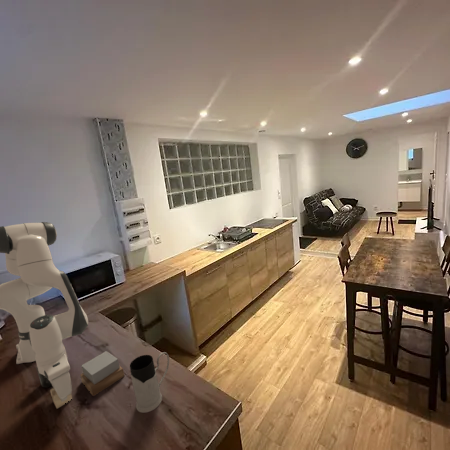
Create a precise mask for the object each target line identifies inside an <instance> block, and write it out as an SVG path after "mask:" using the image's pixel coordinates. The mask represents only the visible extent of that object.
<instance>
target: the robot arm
mask: <svg viewBox="0 0 450 450" xmlns="http://www.w3.org/2000/svg"><path fill="white" fill-rule="evenodd" d="M57 236H58V233H57V229H56V228H55V225H54V224H53V223H51V222H48V221H47V222H46V221H41V222H25V223H17V224H12V225H6V226H4V225H3V226H0V254H4V256H5V268H6V271H7V272H8V273H9V274H11V275H12V276H13V275H14V276H18V277H19V278H15V279H13V280H9V281H7V282H2V283H1V284H0V310H2V311H5V312H7V313H9V314H11V316H12V317H13V318H14V321H15V322H16V325H17V329H18V338H19V343H17V344H16V345H15V347H16V350H17V356H16V365H19V364H23V363H24V364H25V363H32V362H35V363H36V368H37V367H38V371H39V373H40V374H43V375H44V376H46V377H47V379H48V380H49V381H50V382H51V384H52V386H51V387H53V388H54V389H55V391H56V393H57V394H58V396H59V398H60V399H61V401H62V402H63V401H65V400H66V399H67V396H68V395H69V394H71V395H72V392H73V387H72V380H71V375H70V370H71V366H70V363H69V358H68V354H67V350H66V348H65V345H64V343H63V340H65V339H67V338H70V337H75V336H79V335H82V334H83V333H84V332H85V331H86V329H87V328H88V326H89V317H88V315H87V313H86V312H85V311H84V309H83V307H82V305H81V303H80V302H79V301H80V300H79V299H78V297H77V294H76V291H75V290H74V288H73V286H72V283H71V281H70V279H69V277H68V275H67V274H66V272H64V271H63V270H60V269H58V268H57V266H55V263H54V260H53V256H52V253H51V250H50V247H49V246H52V245H54V244H55V243H56V241H57ZM52 288H53V289H57V290H59V291H60V292H61V294H62V296H63V298H64V300H65V303H66V305H67V307H68V310H67V311H65V312H62V313H59V314H55V315H52V314H46V312H45V309H44V307H43V306H41V305H39V304H28V302H27V301H29V300H30V299H33V298H36V297H38V296H40V295H43V294H45V293H46V292H48V291H50V290H51V289H52Z"/></svg>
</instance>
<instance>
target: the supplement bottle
mask: <svg viewBox="0 0 450 450" xmlns="http://www.w3.org/2000/svg"><path fill="white" fill-rule="evenodd" d="M36 372H37V375H38V378H39V382H40V385H41V387H42V388H50V387H53V386H52V384H51V382H50V381H49V380H48V379H47V377H46V376H44V375H43V374H40V373H39V371H38V367H37V366H36Z"/></svg>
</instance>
